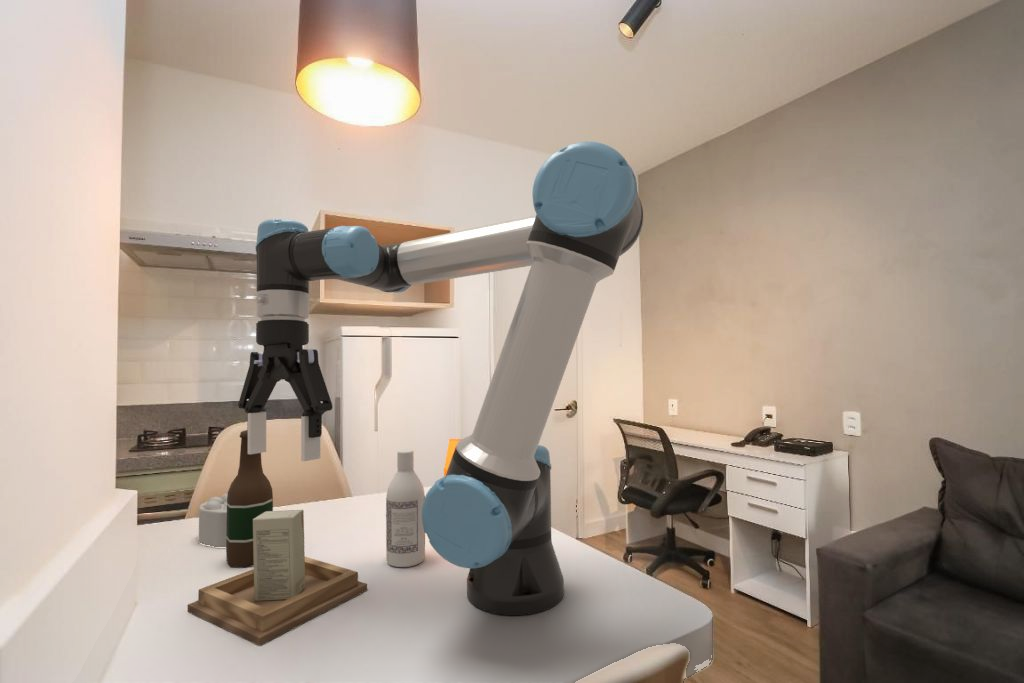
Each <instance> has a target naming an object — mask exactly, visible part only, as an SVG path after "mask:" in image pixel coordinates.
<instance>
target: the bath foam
mask: <svg viewBox="0 0 1024 683" xmlns="http://www.w3.org/2000/svg"><path fill="white" fill-rule="evenodd" d="M396 452H397V458H396V460H397V461H396V462H397V464H396V466H397V471H396V473H395V474H394V476H393V477H392V479H391V481H390V483H389V485H388V487H387V491H386V498H385V501H386V503H385V510H386V511H385V513H386V516H385V521H386V523H385V525H386V526H385V527H386V528H385V532H386V533H385V537H386V541H385V546H386V550H385V551H386V554H385V555H386V556H385V557H386V558H385V559H386V562H387V564H388V565H390V566H391V567H396V568H409V567H413V566H416V565H418V564H421V563H423V561H424V560H425V556H426V533H425V531H424V528H423V524H422V505H423V501H424V499H425V496H426V494H425V490H424V489H425V488H424V485H423V483H422V481H421V479H420V478H419V476H418V474H417V473H416V471H415V470H414V462H415V461H414V450H413V449H400V450H398V451H396Z"/></svg>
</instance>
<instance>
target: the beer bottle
mask: <svg viewBox="0 0 1024 683" xmlns="http://www.w3.org/2000/svg"><path fill="white" fill-rule="evenodd" d="M239 438H240V440H241V441H240V451H239V452H240V454H239V464H238V469H237V471H238V472H237V475H236V476H235V478H234V479H233V480H232V481H231V484H230V486H229V488H228V491H227V493H228V495H227V530H226V548H225V552H226V553H225V554H226V562H227V564H228V565H229V567H230V568H248V567H254V558H253V519H254V518H256V517H257V516H259V515H261V514H262V513H264V512H266V511H274V495H273V493H274V492H273V488H272V485H271V482H270V480H269V479H268V477H267V476H266V475H265V474H264V470H263V466H262V465H263V464H262V453H256V454H248V430H247V429H246V430H243V431H241V432H240V433H239Z"/></svg>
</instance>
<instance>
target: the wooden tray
mask: <svg viewBox="0 0 1024 683" xmlns="http://www.w3.org/2000/svg"><path fill="white" fill-rule="evenodd" d="M366 590H367V591H368V583H366V582H362V581H360V580H359V571H357V570H356V571H355V570H352V569H349V568H345V567H341V566H339V565H335V564H332V563H328V562H324V561H322V560H318V559H315V558H311V557H308V556H305V587H304V589H303V590H302V591H301V592H300V593H299V594H298V595H296V596H294V597H292V598H289V599H282V600H263V601H254V568H252V569H249V570H247V571H244V572H242V573H239V574H236V575H234V576H231V577H228V578H226V579H223V580H221V581H218V582H215V583H213V584H210V585H206V586H205V587H202V588H201V587H200V588H199V589H198V594H197V595H198V598H197V599H198V600H196V601H193V602H191V603H188V604H187V612H188V613H189V614H191V613H192V615H193V616H195V617H198V618H200V619H202V620H205V621H206V620H207V622H208V621H209V622H208V623H210V622H211V623H210V624H212V625H215V626H217V627H219V628H221V629H223V630H226V631H228V632H230V633H232V634H234V635H236V636H239V637H240V638H242V639H245V640H246V641H249V642H250V643H252V644H255V645H257V646H259V647H260V646H262V645H264V644H266V643H269V641H272V640H274V639H275V638H278V637H280V636H281V635H284V634H285V633H287V632H290V631H292V630H293V629H295V628H297V627H299V626H301V625H303V624H305V623H306V622H307V623H308V622H309V621H310V620H313V619H314V618H316V617H319V616H320V615H323V614H324V613H326V612H328V611H330V610H332V609H334V608H335V607H338V606H339V604H340V605H342V604H343V603H345V602H347V601H349V600H352V599H353V598H355V597H357V596H359V595H361V594H363V593H365V592H366ZM364 591H365V592H364ZM360 593H361V594H360ZM341 603H342V604H341Z"/></svg>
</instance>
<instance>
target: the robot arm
mask: <svg viewBox="0 0 1024 683" xmlns="http://www.w3.org/2000/svg"><path fill="white" fill-rule="evenodd" d="M532 202H533V204H532V205H533V209H534V211H535V213H536V214H535V215H532V216H528V217H522V218H517V219H512V220H506V221H502V222H498V223H493V224H489V225H488V224H487V225H482V226H477V227H473V228H468V229H462V230H457V231H453V232H447V233H442V234H438V235H433V236H427V237H422V238H418V239H413V240H409V241H407V240H406V241H404V242H398V243H394V244H393V243H392V244H389V245H384V244H383V245H382V244H380V243H378V242H377V239H376V238H375V236H374V235H373V234H371V231H370V230H369V229H368V228H366V227H364V226H362V225H349V226H348V225H340V226H336V227H331V228H325V229H318V230H312V231H309V228H308V227H307V226H306V225H305V224H304V223H302V222H300V221H296V220H293V219H286V218H282V219H277V218H270V219H267V220H266V219H265V220H263V221H261V222H260V223H259V224H258V227H257V234H256V245H255V252H256V253H255V254H256V297H255V301H256V317H258V318H259V319H260V320H257V322H256V323H255V325H256V326H255V327H256V328H255V330H256V331H255V340H256V341H255V342H256V344H257V345H259V346H262V347H263V351H252V352H250V353H249V354H250V355H249V367H248V370H247V373H246V377H245V379H244V383H243V386H242V390H241V393H240V395H239V396H240V397H239V399H238V404H237V406H238V408H239V409H243V410H244V412H245V413H246V414H247V419H246V420H247V424H246V426H247V427H246V428H247V429H246V430H248V454H256V453H261V454H262V453H267V412H266V411H267V408H266V407H265V406H266V404H267V403H268V402H269V399H270V396H271V395H272V393H273V390H274V389H275V386H276V385H277V384H278V382H280V381H281V380H284V381H285V382H287V383H289V385H290V387H291V389H292V391H293V393H294V394H295V396H296V398H297V400H298V403H299V405H300V406H301V408H302V410H303V412H302V413H301V418H300V421H301V422H300V424H301V426H300V427H301V428H300V429H301V431H300V432H301V435H300V441H301V444H300V447H301V448H300V450H301V455H300V456H301V457H300V459H301V462H310V461H314V460H318V459H321V437H322V433H323V430H322V428H323V427H322V426H323V421H322V420H323V419H322V418H323V415H324V414H325V413H326V412H328V411H330V412H331V411H332V410H333V402H332V400H331V397H330V393H329V390H328V387H327V384H326V382H325V379H324V376H323V372H322V370H321V366H320V364H319V363H320V362H319V353H318V350H317V349H313V348H312V349H311V348H309V349H306V348H304V347H303V346H306V345H308V344H309V341H310V340H309V339H310V326H309V325H310V324H309V323H308V322H307V321H306V320H307V319H309V318H310V294H309V293H310V292H309V290H310V288H309V287H310V282H312V281H313V282H314V281H322V280H323V281H324V280H338V281H341V282H342V281H343V282H347V283H352V284H355V285H360V286H364V287H367V288H371V289H375V290H379V291H380V292H385V293H395V294H396V293H403V292H405V291H407V290H408V289H409V288H411V286H416V285H421V284H428V283H434V282H440V281H447V280H453V279H457V278H464V277H469V276H476V275H482V274H488V273H496V272H501V271H507V270H513V269H518V268H525V267H530V269H529V270H528V274H527V276H526V281H525V283H524V285H523V288H522V292H521V294H520V297H519V300H518V303H517V306H516V307H515V308H516V309H515V311H514V314H513V317H512V320H511V322H510V325H509V328H508V331H507V334H506V337H505V340H504V342H503V345H502V349H501V351H500V354H499V357H498V360H497V363H496V365H495V368H494V372H493V375H492V376H491V380H490V383H489V385H488V389H487V390H486V394H485V396H484V400H483V402H482V405H481V408H480V412H479V414H478V417H477V419H476V422H475V426H474V428H473V430H472V433H471V434H470V435H468V436H465V437H464V438H460V439H461V440H459V441H458V443H457V445H456V447H455V450H454V453H453V456H452V458H451V461H450V464H449V467H448V470H447V473H446V475H445V477H444V476H442V477H441V478H439V479H438V480H436V481H435V482H434V484H433V485H431V487H430V488H429V490H428V491H427V492H426V494H425V499H424V501H423V505H422V524H423V528H424V531H425V535H426V536H427V538H428V542H429V544H430V545H431V547H432V548H433V550H434V551H435V552H436V553H437V554H438V555H439V556H440V557H441V558H442V559H444V560H445V561H447V562H449V563H450V564H451V565H454V566H457V567H459V568H464V569H469V571H468V574H467V578H466V596H467V599H468V600H469V602H470V603H471V604H472V605H473V606H474V607H476V608H478V609H480V610H482V611H485V612H488V613H491V614H495V615H505V616H525V615H532V614H537V613H541V612H543V611H544V612H545V611H546V610H549V609H551V608H553V607H554V606H556V605H557V604H559V603H560V601H562V599H563V597H564V596H565V595H564V594H565V592H564V590H565V589H564V588H565V586H564V585H565V584H564V576H563V572H562V569H561V566H560V563H559V560H558V556H557V555H556V551H555V548H554V545H553V542H552V491H551V490H552V488H551V487H552V486H551V481H552V480H551V470H552V463H551V458H550V451H549V450H548V448H547V447H546V446H544V445H540V441H541V437H542V436H543V433H544V430H545V427H546V424H547V421H548V418H549V416H550V413H551V411H552V408H553V405H554V402H555V399H556V396H557V394H558V391H559V389H560V385H561V383H562V380H563V377H564V374H565V372H566V369H567V366H568V364H569V362H570V358H571V355H572V352H573V350H574V347H575V344H576V341H577V340H578V336H579V334H580V330H581V328H582V324H583V322H584V320H585V316H586V314H587V311H588V308H589V306H590V303H591V300H592V297H593V294H594V292H595V288H596V286H597V284H598V283H599V282H600V281H602V280H604V279H606V278H608V277H610V276H612V275H613V274H614V272H615V269H616V266H617V264H618V261H619V259H620V257H621V256H622V255H624V254H625V253H626V252H628V251H629V250H630V249H631V248H632V246H634V244H635V243H636V242H637V241H638V239H639V236H640V234H641V232H642V227H643V225H644V209H643V208H644V207H643V204H642V202H641V199H640V197H639V193H638V183H637V178H636V175H635V172H634V171H633V169H632V167H631V165H630V164H629V163H628V161H627V160H626V158H625V157H624V156H623V155H622V154H621V153H620V152H619V151H618V150H616V149H614V148H613V147H612V146H610V145H608V144H606V143H603V142H602V143H601V142H596V141H579V142H574V143H571V144H568V145H567V146H565V147H563V148H561V149H560V150H557V151H555V152H554V153H552V154H551V155H549V157H548V158H547V159H546V160H545V161H544V162H543V164H542V165H541V167H539V170H538V172H537V173H536V176H535V177H534V182H533V186H532Z"/></svg>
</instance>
